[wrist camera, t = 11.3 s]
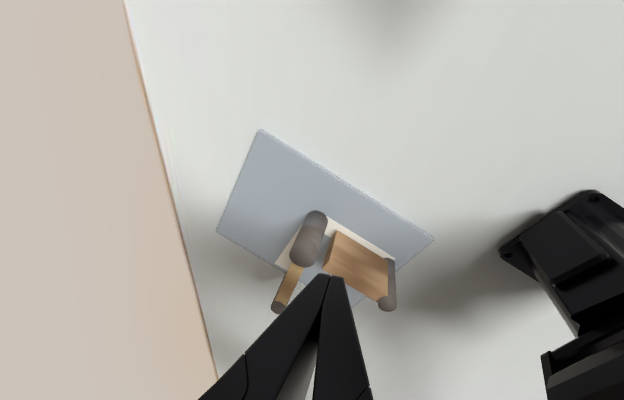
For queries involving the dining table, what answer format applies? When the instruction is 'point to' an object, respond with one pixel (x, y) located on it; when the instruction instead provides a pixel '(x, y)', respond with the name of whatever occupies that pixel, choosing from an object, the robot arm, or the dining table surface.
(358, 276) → the fixed fence
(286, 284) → the fence panel
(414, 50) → the dining table surface
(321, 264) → the card
